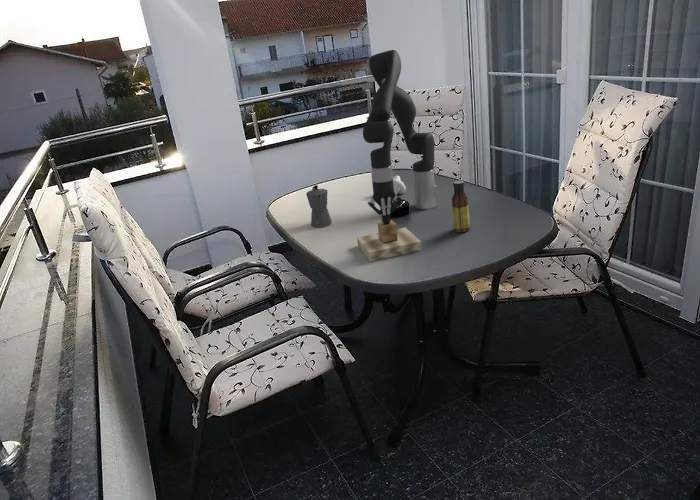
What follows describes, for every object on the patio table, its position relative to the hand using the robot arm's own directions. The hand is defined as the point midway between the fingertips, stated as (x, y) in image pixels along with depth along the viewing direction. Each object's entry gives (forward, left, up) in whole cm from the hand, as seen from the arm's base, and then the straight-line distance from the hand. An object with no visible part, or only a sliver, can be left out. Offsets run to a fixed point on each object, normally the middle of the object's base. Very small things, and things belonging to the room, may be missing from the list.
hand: (386, 223), depth 186 cm
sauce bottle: (-31, -2, -10) cm, 33 cm away
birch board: (0, 0, -10) cm, 10 cm away
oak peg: (0, 0, -10) cm, 10 cm away
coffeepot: (+18, -41, -10) cm, 46 cm away
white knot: (-24, -60, -10) cm, 65 cm away
